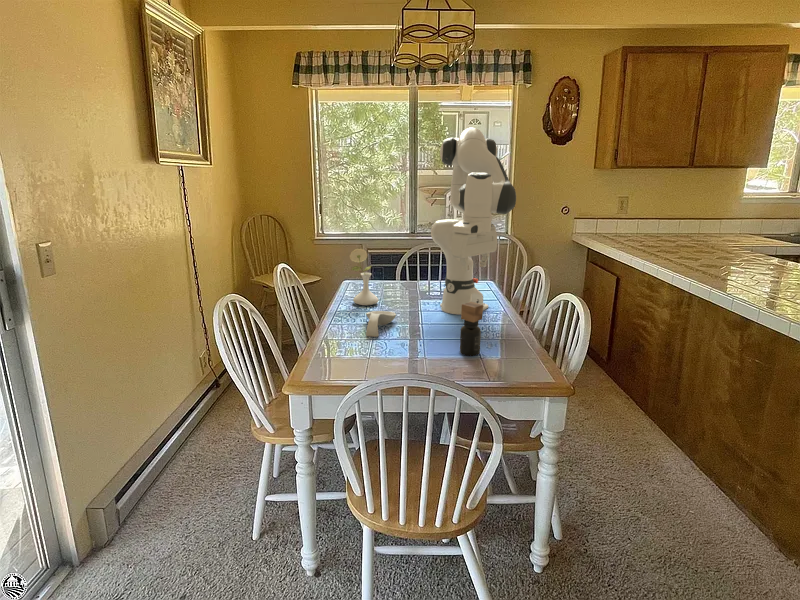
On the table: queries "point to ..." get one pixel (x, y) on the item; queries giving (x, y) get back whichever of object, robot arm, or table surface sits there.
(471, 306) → the walnut cube
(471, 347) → the supplement bottle
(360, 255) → the flower in vase
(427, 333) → the table surface
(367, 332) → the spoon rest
